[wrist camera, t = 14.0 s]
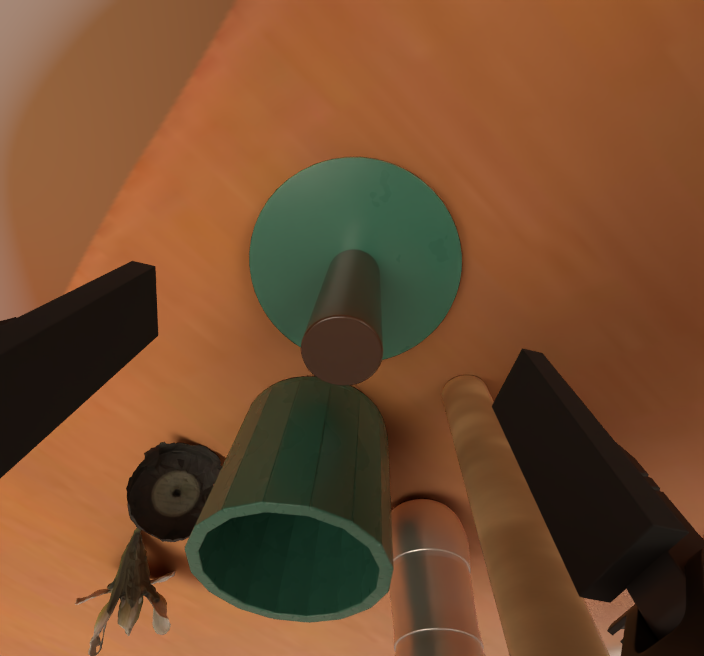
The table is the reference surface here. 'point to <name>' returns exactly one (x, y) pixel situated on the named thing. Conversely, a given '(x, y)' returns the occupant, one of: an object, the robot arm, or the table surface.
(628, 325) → the table surface
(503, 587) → the stick
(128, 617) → the artificial flower
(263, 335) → the table surface
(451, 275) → the lid
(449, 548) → the plastic bottle
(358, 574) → the pot
